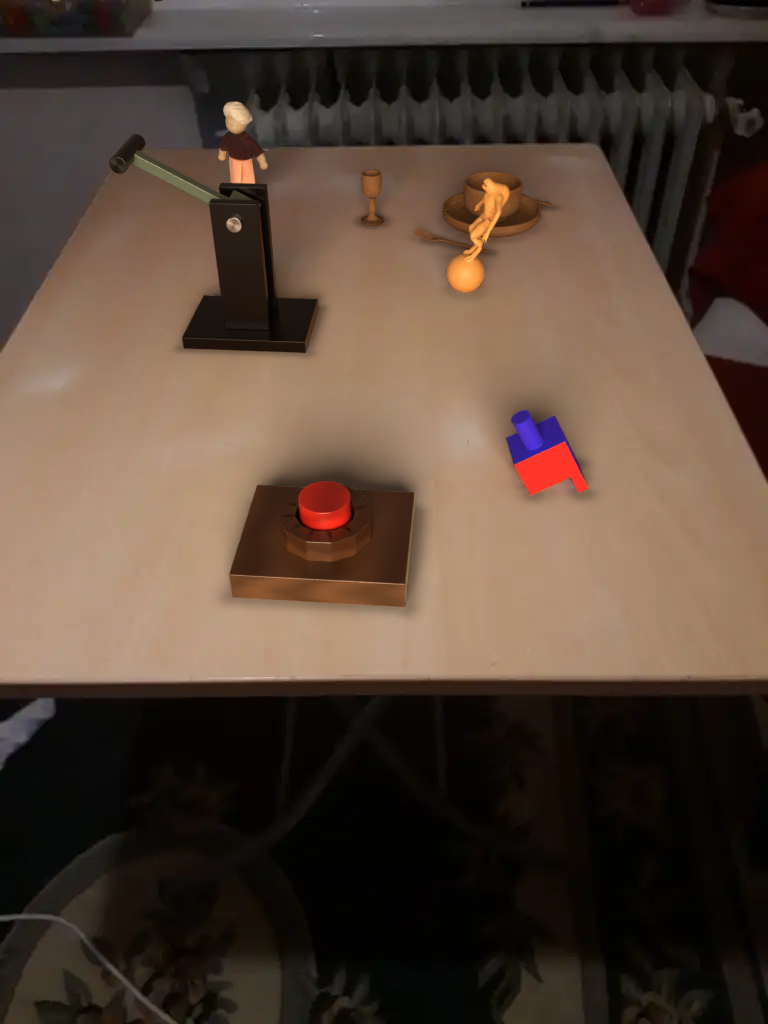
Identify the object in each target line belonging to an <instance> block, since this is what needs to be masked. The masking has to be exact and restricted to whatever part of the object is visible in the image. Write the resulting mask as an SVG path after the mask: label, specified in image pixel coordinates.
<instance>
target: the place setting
mask: <svg viewBox="0 0 768 1024" xmlns="http://www.w3.org/2000/svg"><path fill="white" fill-rule="evenodd" d="M360 173H361V174H360V182H361V183H360V184H361V191H362V194H363V195H364V196H365V197H367V198H368V199H367V200H368V205H367V212H368V213H369V214H368V215H365V216H362V217H361V218H360V223H361V224H362V225H364V226H368V227H369V226H371V227H372V226H379V225H382V224H383V223H384V221H385V219H384V217H382V216H381V215H377V214H376V211H377V205H376V198H377V197H378V196H380V194H381V192H382V186H383V185H382V183H383V175H382V171H381V170H379V169H364V170H363V171H361V172H360ZM486 178H490V179H491V180H493V181H494V182H496V183H501V184H505V185H507V186H508V187H509V190H510V195H509V198H508V200H507V202H506V203H505V205H504V206H503V208H502V209H501V214H500V217H499V218H498V220H497V222H496V224H495V225H494V227H493V228H492V230H491V231H490V234H489V237H488V238H505V237H511V236H516V235H519V234H522V233H524V232H527V231H528V230H530V229H532V228H533V227H534V226H535V225H536V224H537V223H538V222H539V220H540V219H541V216H542V210H543V209H542V205H545V206H549V207H552V206H553V204H552V203H550V202H547V201H543V200H541V199H537V198H533V197H531V196H528V195H526V194H523V187H524V183H523V180H522V179H521V178H519V177H518V176H517V175H514V174H511V173H508V172H503V171H482V172H476V173H473V174H471V175H469V176H467V177H466V178H465V179H464V181H463V191H462V192H458V193H456V194H453V195H451V196H449V197H448V198H447V199H445V200H444V201H443V203H442V207H441V208H442V211H441V212H442V216H443V218H444V220H445V221H446V222H447V223H448V224H449V225H450V226H452V228H454V229H456V230H458V231H460V232H462V233H464V234H467V235H470V232H469V226H470V225H471V224H472V223H473V222H474V221H475V220H476V219H477V218H478V217H479V216H480V215H481V214H482V213H483V211H484V203H483V204H482V206H481V207H480V209H479V208H478V209H479V210H478V209H477V211H476V210H475V208H476V206H477V205H478V204H479V203H480V201H481V200H482V199H483V197H484V195H485V193H486V191H485V190H484V189H483V188H482V185H483V184H484V180H485V179H486ZM459 200H460V201H459ZM454 202H455V203H454ZM452 203H453V204H452ZM446 209H447V210H446ZM474 210H475V211H474ZM413 233H414V234H415V235H417V236H419V237H420V238H422V239H425V240H427V241H429V242H439V241H441V242H445V243H448V244H451V245H456V246H459V247H463V248H466V249H471V248H472V247H473V246H474V245H470V244H467V243H463V242H459V241H455V240H451V239H447V238H443V237H438V236H435V235H433V234H430V233H429V232H426V231H425V230H423V229H421V228H418V227H417V229H415V230H414V231H413ZM484 233H486V232H484ZM483 236H484V235H482V236H481V238H482V237H483ZM480 252H482V253H490V252H491V251H490V250H488V249H485V248H482V250H481V251H480Z"/></svg>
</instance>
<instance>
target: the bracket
mask: <svg viewBox="0 0 768 1024" xmlns="http://www.w3.org/2000/svg"><path fill="white" fill-rule="evenodd" d="M233 190H235V191H237V192H239V193H241V194H243V195H245V196H247V197H249V198H251V199H253V200H230V199H211V200H210V202H209V204H208V208H209V215H210V223H211V230H212V240H213V247H214V255H215V262H216V269H217V276H218V286H219V292H220V295H212V294H211V295H209V294H204V295H202V297H201V300H200V302H199V303H198V306H197V308H196V309H195V311H194V313H193V315H192V317H191V319H190V321H189V323H188V325H187V327H186V329H185V331H184V333H183V335H182V337H181V341H182V347H183V349H190V350H216V351H219V350H220V351H243V352H267V353H268V352H269V353H295V354H304V353H305V354H306V352H307V350H308V345H309V342H310V338H311V336H312V332H313V329H314V325H315V322H316V319H317V317H318V316H317V315H318V312H319V309H320V308H319V299H318V298H302V297H278V292H277V291H278V290H277V289H278V288H277V279H276V268H275V257H274V246H273V245H274V244H273V235H272V234H273V233H272V224H271V223H272V222H271V212H270V201H269V200H270V199H269V190H268V183H256V184H255V183H231V182H220V184H219V185H218V193H220V194H222V195H224V196H226V197H228V198H229V197H230V196H231V194H232V192H233ZM259 203H260V204H261V206H260V205H259Z"/></svg>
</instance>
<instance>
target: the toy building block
mask: <svg viewBox="0 0 768 1024" xmlns="http://www.w3.org/2000/svg"><path fill="white" fill-rule="evenodd" d="M530 412H531V411H529V410H528V409H522V410H518V411H516V412H515V413H514V414H513V415H512V416H511V418H510V421H511V424H512V426H513V428H514V429H515V431H516V433H513V434H511V435H508V436H507V437H505V440H506V443H507V446H508V450H509V454H510V456H511V460H512V463H513V466H514V468H515V470H516V471H517V473H518V475H519V476H520V478H521V480H522V482H523V484H524V485H525V487H526V489H527V491H528V493H529V495H530V496H533V495H535V494H537V493H540V492H542V491H545V490H547V489H549V488H551V487H553V486H556V485H558V484H560V483H562V482H564V481H566V480H569V479H571V480H572V482H573V485H574V486H575V488H576V490H577V492H578V493H582V492H583V491H587V490H588V489H589V486H588V483H587V481H586V478H585V475H584V473H583V471H582V468H581V465H580V462H579V460H578V459H577V456H576V455H575V452H574V450H573V448H572V446H571V445H570V442H569V441H568V439H567V436H566V434H565V433H564V431H563V429H562V427H561V425H560V423H559V421H558V419H557V417H556V415H552V416H550V417H548V418H546V419H543V420H541V421H538V422H537V423H536V422H535V420H534V418H533V416H532V414H531V413H530Z"/></svg>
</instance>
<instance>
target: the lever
mask: <svg viewBox="0 0 768 1024" xmlns="http://www.w3.org/2000/svg"><path fill="white" fill-rule="evenodd" d="M146 145H147V144H146V140H145V137H143V136H142V135H140V134H137V133H134V134H131V135H130V136H129V137H128V138H127V140H126V141H125V142H124V143H123V144H122V145H121V146H120V147H119V149H118V150H117V151H116V152H114V153H113V155H112V156H111V158H110V159H109V161H108V165H109V168H110V169H111V171H112V172H113V173H115V174H119V175H123V174H124V173H126V172H127V170H129V168H130V167H131V165H133V166H135V167H137V168H138V169H140V170H143V171H144V172H146V173H149V174H150V175H152V176H154V177H156V178H158V179H160V180H162V181H164V182H166V183H168V184H170V185H171V186H173V187H175V188H176V189H180V190H181V191H183V192H185V193H187V194H189V195H191V196H192V197H194V198H197V199H199V200H200V201H202V202H204V203H206V204H208V205H209V202H210V200H211V199H230V200H253V199H251V198H249V197H247V196H245V195H243V194H241V193H239V192H237V191H235V190H233V192H232V194H231V196H230V197H229V198H228V197H226V196H224V195H222V194H220V193H219V191H216V190H215V189H213V188H211V187H209V186H207V185H205V184H203V183H201V182H200V181H197V180H195V179H194V178H191V177H190V176H188V175H186V174H184V173H182V172H181V171H178V170H177V169H174V168H173V167H171V166H169V165H168V164H165V163H164V162H161V161H159V160H157V159H156V158H153V157H152V156H150V155H148V154H146V153H144V152H143V151H144V150H145V149H146ZM259 205H260V206H261V204H260V203H259Z"/></svg>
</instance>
